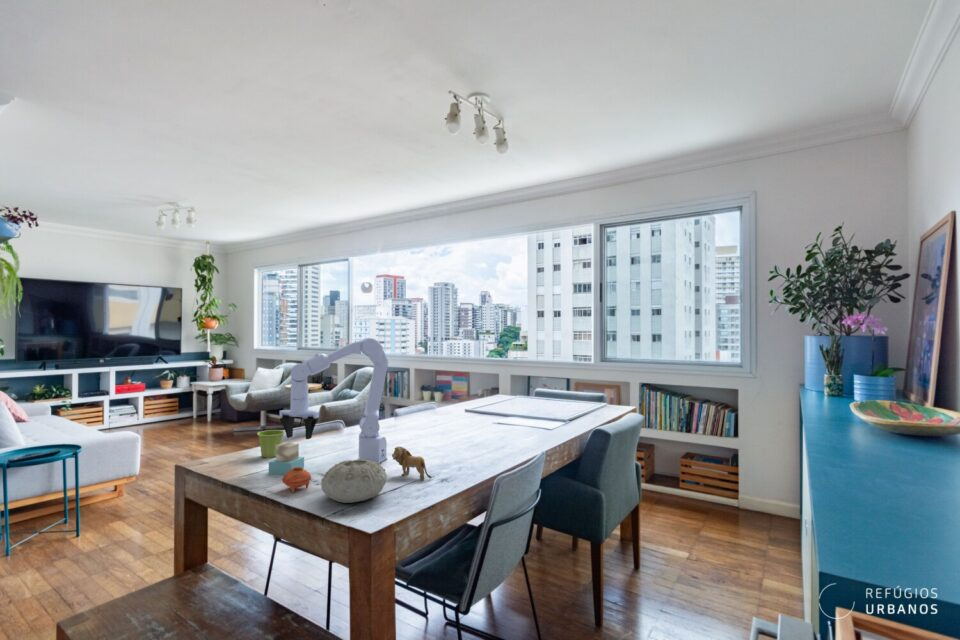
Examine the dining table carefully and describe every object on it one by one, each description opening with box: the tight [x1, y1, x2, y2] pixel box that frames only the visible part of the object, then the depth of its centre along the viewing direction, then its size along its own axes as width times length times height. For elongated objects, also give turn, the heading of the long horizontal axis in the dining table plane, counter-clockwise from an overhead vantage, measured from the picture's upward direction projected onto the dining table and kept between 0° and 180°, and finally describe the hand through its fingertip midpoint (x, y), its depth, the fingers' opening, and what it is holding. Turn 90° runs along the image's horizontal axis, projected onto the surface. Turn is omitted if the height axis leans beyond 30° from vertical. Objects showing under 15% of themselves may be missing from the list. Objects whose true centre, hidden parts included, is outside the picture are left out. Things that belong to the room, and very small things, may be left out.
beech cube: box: [275, 441, 300, 462], centre depth 159 cm, size 5×5×5 cm
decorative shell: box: [320, 459, 388, 504], centre depth 134 cm, size 18×18×10 cm
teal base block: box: [268, 456, 305, 475], centre depth 159 cm, size 8×8×4 cm
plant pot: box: [257, 429, 286, 459], centre depth 177 cm, size 9×9×9 cm
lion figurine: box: [391, 446, 433, 481], centre depth 154 cm, size 15×5×9 cm, turn 64°
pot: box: [281, 467, 312, 493], centre depth 141 cm, size 8×8×7 cm
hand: (299, 438), depth 164 cm, fingers open, 7 cm apart
